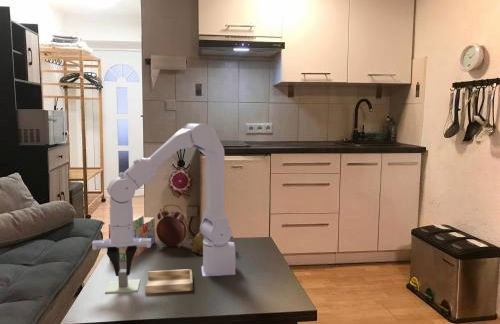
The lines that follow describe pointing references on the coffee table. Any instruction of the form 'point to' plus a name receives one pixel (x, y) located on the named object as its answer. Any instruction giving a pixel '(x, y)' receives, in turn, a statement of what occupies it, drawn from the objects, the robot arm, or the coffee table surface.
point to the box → (169, 281)
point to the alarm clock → (172, 227)
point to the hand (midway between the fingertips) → (123, 274)
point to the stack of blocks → (139, 233)
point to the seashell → (200, 243)
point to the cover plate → (125, 289)
